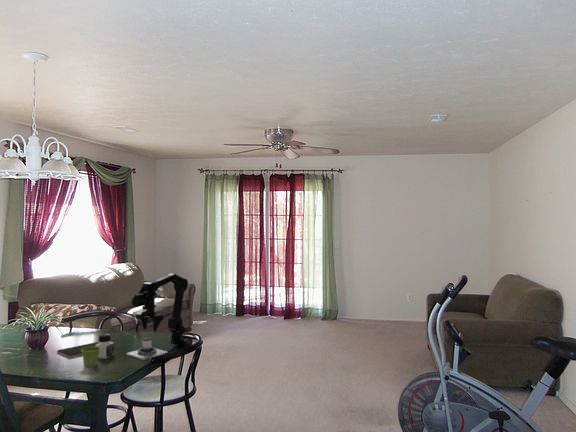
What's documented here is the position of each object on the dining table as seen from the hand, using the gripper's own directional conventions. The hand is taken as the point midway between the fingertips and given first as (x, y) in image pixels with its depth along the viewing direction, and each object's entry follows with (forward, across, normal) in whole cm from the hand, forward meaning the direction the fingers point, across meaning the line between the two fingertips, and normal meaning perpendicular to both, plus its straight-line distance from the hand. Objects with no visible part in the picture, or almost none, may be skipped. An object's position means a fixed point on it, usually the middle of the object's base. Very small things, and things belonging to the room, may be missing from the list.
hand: (149, 330), depth 262 cm
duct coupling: (+10, +5, -6) cm, 13 cm away
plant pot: (+11, -2, -36) cm, 37 cm away
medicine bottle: (+11, -11, -22) cm, 27 cm away
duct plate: (+11, +5, -6) cm, 14 cm away
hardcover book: (+12, -29, -24) cm, 40 cm away
